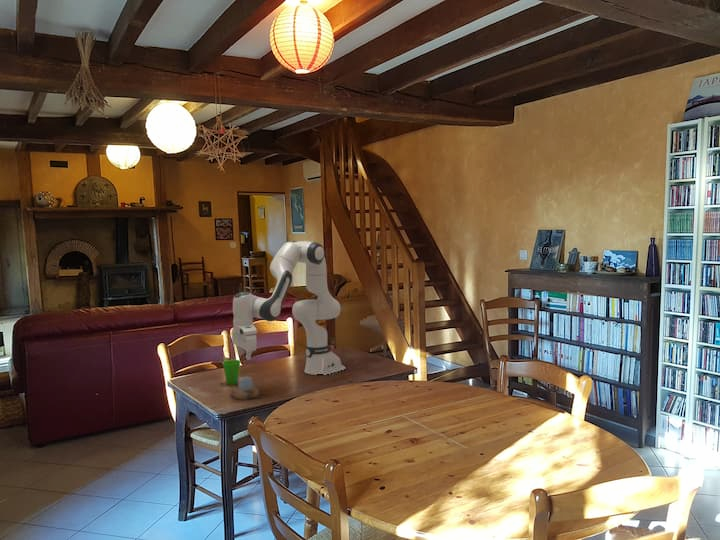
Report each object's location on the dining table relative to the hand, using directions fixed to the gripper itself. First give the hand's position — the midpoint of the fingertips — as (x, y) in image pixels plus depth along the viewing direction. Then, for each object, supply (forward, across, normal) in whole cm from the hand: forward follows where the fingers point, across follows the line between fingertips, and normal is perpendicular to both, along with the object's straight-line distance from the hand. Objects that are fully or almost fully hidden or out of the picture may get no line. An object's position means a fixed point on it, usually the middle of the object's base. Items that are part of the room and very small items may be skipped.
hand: (244, 357), depth 234 cm
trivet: (+18, +1, 0) cm, 18 cm away
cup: (+19, -20, +1) cm, 27 cm away
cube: (+15, +1, 0) cm, 15 cm away
